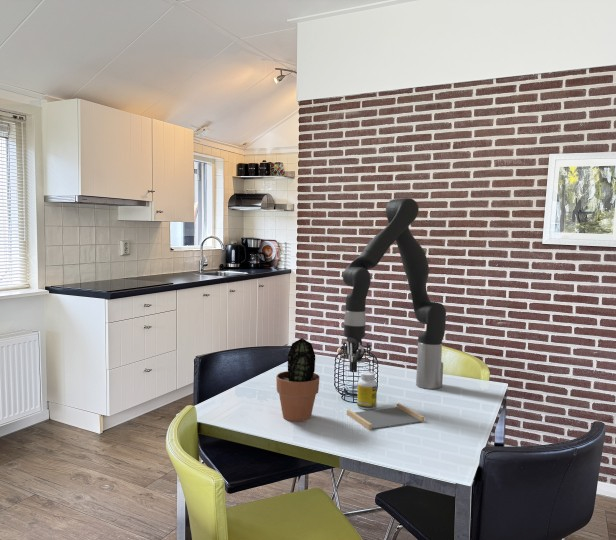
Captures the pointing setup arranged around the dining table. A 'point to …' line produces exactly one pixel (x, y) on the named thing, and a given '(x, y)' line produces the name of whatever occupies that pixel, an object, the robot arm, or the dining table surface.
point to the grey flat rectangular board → (386, 417)
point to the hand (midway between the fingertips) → (353, 371)
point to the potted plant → (298, 382)
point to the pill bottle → (367, 391)
